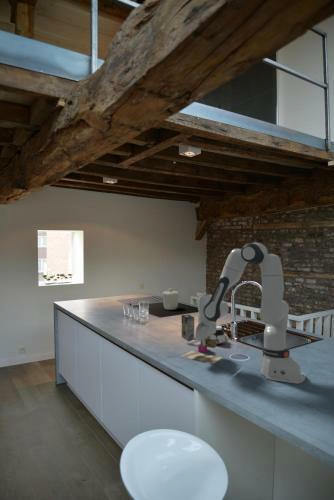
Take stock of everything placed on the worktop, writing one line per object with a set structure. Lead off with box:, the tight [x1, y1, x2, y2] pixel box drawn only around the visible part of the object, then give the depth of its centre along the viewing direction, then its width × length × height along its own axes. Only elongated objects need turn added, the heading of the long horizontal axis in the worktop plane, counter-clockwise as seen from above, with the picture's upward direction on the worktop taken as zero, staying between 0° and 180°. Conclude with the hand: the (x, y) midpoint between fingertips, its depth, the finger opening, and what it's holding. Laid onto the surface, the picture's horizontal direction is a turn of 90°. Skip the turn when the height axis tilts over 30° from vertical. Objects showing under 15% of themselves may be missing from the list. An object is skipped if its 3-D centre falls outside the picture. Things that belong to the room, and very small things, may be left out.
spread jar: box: [210, 325, 230, 346], centre depth 235 cm, size 12×11×12 cm
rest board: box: [181, 350, 223, 365], centre depth 206 cm, size 22×12×1 cm, turn 55°
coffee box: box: [181, 314, 195, 341], centre depth 247 cm, size 9×6×16 cm
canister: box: [161, 287, 180, 311], centre depth 349 cm, size 18×18×21 cm
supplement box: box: [197, 338, 208, 353], centre depth 218 cm, size 6×6×12 cm
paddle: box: [186, 339, 218, 349], centre depth 205 cm, size 17×8×4 cm, turn 55°
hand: (206, 344), depth 204 cm, fingers closed on paddle, 3 cm apart
